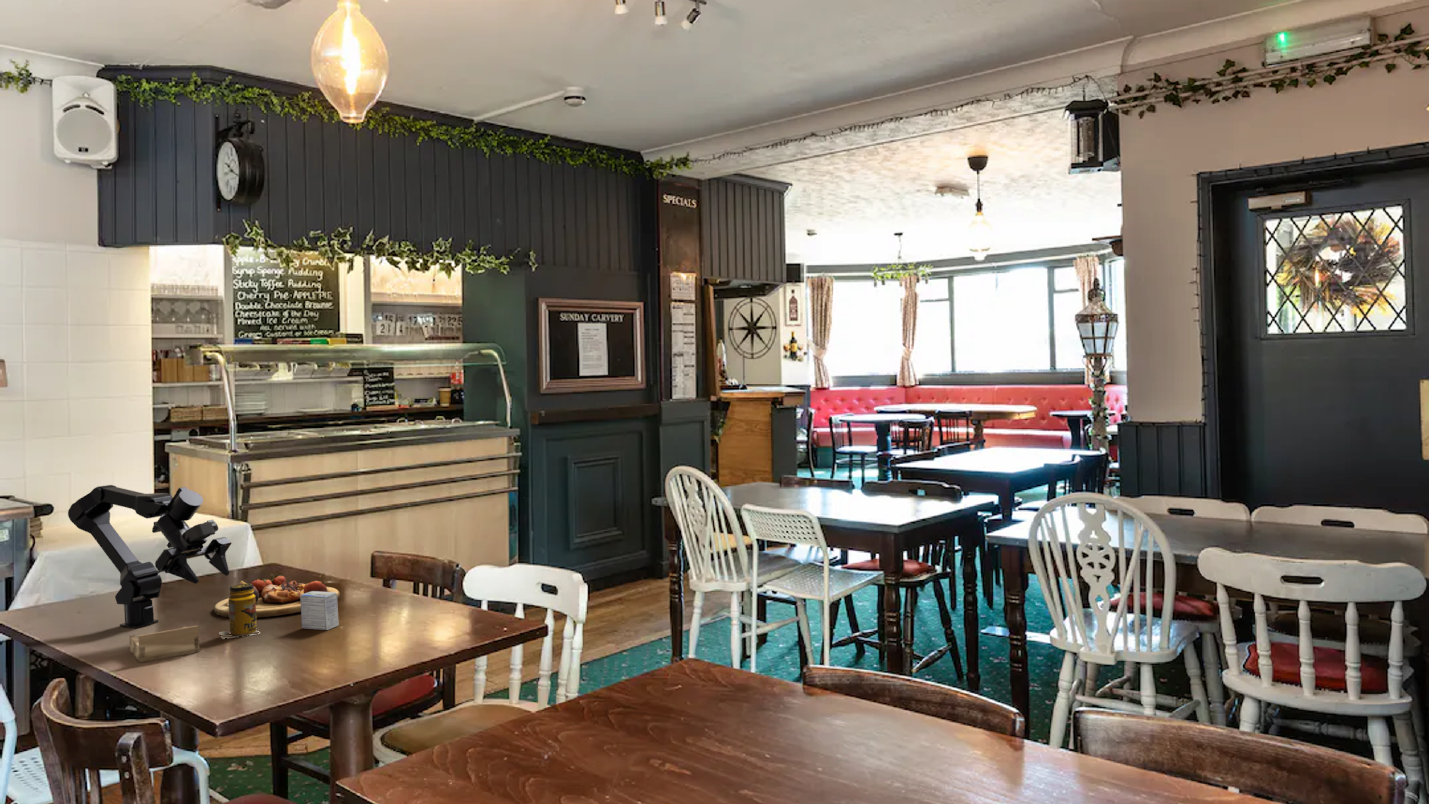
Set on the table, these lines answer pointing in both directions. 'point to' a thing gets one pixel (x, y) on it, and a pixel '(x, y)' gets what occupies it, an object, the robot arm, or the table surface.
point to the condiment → (241, 611)
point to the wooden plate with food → (276, 596)
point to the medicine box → (319, 610)
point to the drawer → (165, 644)
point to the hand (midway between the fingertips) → (213, 578)
